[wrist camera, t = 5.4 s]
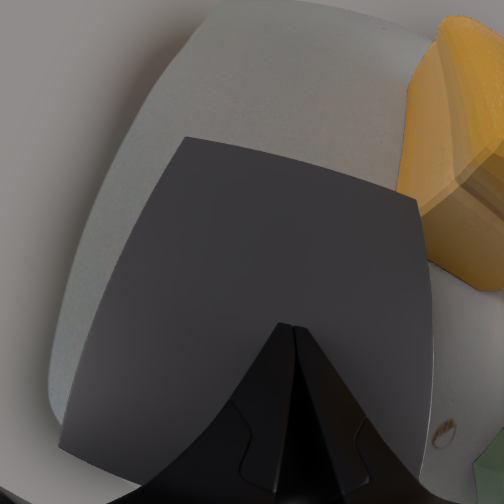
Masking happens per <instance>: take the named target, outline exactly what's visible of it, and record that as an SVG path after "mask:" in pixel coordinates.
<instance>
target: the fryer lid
mask: <svg viewBox="0 0 504 504" xmlns="http://www.w3.org/2000/svg"><path fill="white" fill-rule="evenodd" d="M279 322H282V323H287V324H291V325H292V326H294V325H296V326H301V327H306V328H307V329H308V330H309V331H310V333H311V334H312V336H313V337H314V339H315V340H316V341H317V343H318V344H319V346H320V347H321V349H322V350H323V352H324V353H325V355H326V356H327V358H328V359H329V361H330V362H331V363H332V365H333V366H334V368H335V369H336V371H337V372H338V374H339V375H340V377H341V378H342V380H343V381H344V383H345V384H346V385H347V387H348V388H349V390H350V391H351V393H352V394H353V396H354V397H355V399H356V400H357V402H358V403H359V405H360V406H361V408H362V409H363V410H364V412H365V413H366V415H367V416H366V417H368V418H369V419H370V421H371V422H372V424H373V425H374V426H375V428H376V429H377V431H378V432H379V433H380V435H381V436H382V438H383V439H384V440H385V442H386V443H387V444H388V445H389V447H390V448H391V449H392V450H393V452H394V453H395V454H396V455H397V457H398V458H399V459H400V460H401V461H402V462H403V463H404V465H405V466H406V467H407V468H408V469H409V470H410V472H411V473H412V474H413V475H414V476H415V477H416V478H417V480H418V481H419V478H420V474H421V469H422V465H423V460H424V454H425V449H426V443H427V436H428V429H429V421H430V412H431V401H432V388H433V364H434V335H433V311H432V297H431V285H430V276H429V267H428V260H427V253H426V246H425V240H424V234H423V228H422V223H421V218H420V213H419V208H418V204H417V200H416V199H414V198H412V197H409V196H406V195H404V194H401V193H398V192H396V191H393V190H390V189H387V188H385V187H382V186H379V185H376V184H373V183H370V182H367V181H364V180H361V179H358V178H355V177H352V176H349V175H346V174H343V173H340V172H336V171H333V170H330V169H326V168H323V167H319V166H316V165H312V164H309V163H305V162H302V161H298V160H294V159H290V158H286V157H282V156H278V155H274V154H270V153H266V152H262V151H257V150H253V149H248V148H244V147H239V146H234V145H229V144H224V143H219V142H214V141H208V140H203V139H197V138H191V137H185V138H184V139H183V141H182V143H181V144H180V146H179V147H178V149H177V151H176V152H175V154H174V155H173V157H172V159H171V160H170V162H169V164H168V165H167V167H166V169H165V171H164V172H163V174H162V176H161V177H160V179H159V181H158V183H157V185H156V186H155V188H154V190H153V192H152V194H151V195H150V197H149V199H148V201H147V203H146V205H145V207H144V208H143V210H142V212H141V214H140V216H139V218H138V220H137V222H136V224H135V226H134V228H133V230H132V232H131V234H130V236H129V238H128V240H127V242H126V244H125V246H124V249H123V251H122V253H121V255H120V257H119V259H118V262H117V264H116V266H115V268H114V271H113V273H112V275H111V277H110V280H109V282H108V285H107V287H106V289H105V292H104V294H103V297H102V299H101V302H100V304H99V307H98V309H97V312H96V315H95V317H94V320H93V323H92V325H91V328H90V331H89V334H88V337H87V339H86V342H85V345H84V348H83V351H82V354H81V357H80V361H79V364H78V367H77V370H76V374H75V377H74V381H73V384H72V388H71V391H70V395H69V399H68V403H67V407H66V411H65V415H64V420H63V424H62V429H61V433H60V439H59V444H58V446H59V447H60V448H61V449H63V450H65V451H66V452H68V453H70V454H72V455H74V456H76V457H78V458H79V459H81V460H84V461H86V462H87V463H89V464H91V465H94V466H96V467H98V468H100V469H102V470H104V471H107V472H109V473H111V474H113V475H116V476H118V477H121V478H123V479H126V480H128V481H131V482H134V483H136V484H139V485H144V484H145V483H147V482H148V481H150V480H151V479H152V478H154V477H155V476H156V475H157V474H159V473H160V472H161V471H162V470H163V469H164V468H165V467H167V466H168V465H169V464H170V463H171V462H172V461H173V460H174V459H175V458H176V457H178V456H179V455H180V454H181V453H182V452H183V451H184V450H185V449H186V448H187V447H188V446H189V445H190V444H191V443H192V442H193V441H194V440H196V438H197V437H198V436H199V435H200V434H201V433H202V432H203V431H204V430H205V429H206V428H207V427H208V426H209V425H210V423H211V422H212V421H213V419H214V418H215V417H216V416H217V414H218V413H219V412H220V410H221V409H222V407H223V406H224V405H225V403H226V402H227V400H229V398H230V396H231V395H232V393H233V392H234V390H235V389H236V387H237V386H238V384H239V383H240V381H241V380H242V378H243V377H244V375H245V374H246V372H247V371H248V369H249V368H250V366H251V365H252V363H253V361H254V360H255V358H256V357H257V355H258V354H259V352H260V351H261V349H262V347H263V346H264V344H265V343H266V341H267V339H268V338H269V336H270V335H271V333H272V331H273V330H274V328H275V327H276V325H277V323H279Z"/></svg>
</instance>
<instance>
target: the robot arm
mask: <svg viewBox="0 0 504 504" xmlns="http://www.w3.org/2000/svg"><path fill="white" fill-rule="evenodd" d="M366 416H367V415H366V413H365V412H364V410H363V409H362V408H361V406H360V405H359V403H358V402H357V400H356V399H355V397H354V396H353V394H352V393H351V391H350V390H349V388H348V387H347V385H346V384H345V383H344V381H343V380H342V378H341V377H340V375H339V374H338V372H337V371H336V369H335V368H334V366H333V365H332V363H331V362H330V361H329V359H328V358H327V356H326V355H325V353H324V352H323V350H322V349H321V347H320V346H319V344H318V343H317V341H316V340H315V339H314V337H313V336H312V334H311V333H310V331H309V330H308V329H307V328H306V327H301V326H296V325H294V326H292V325H291V324H287V323H282V322H279V323H277V325H276V327H275V328H274V330H273V331H272V333H271V335H270V336H269V338H268V339H267V341H266V343H265V344H264V346H263V347H262V349H261V351H260V352H259V354H258V355H257V357H256V358H255V360H254V361H253V363H252V365H251V366H250V368H249V369H248V371H247V372H246V374H245V375H244V377H243V378H242V380H241V381H240V383H239V384H238V386H237V387H236V389H235V390H234V392H233V393H232V395H231V396H230V398H229V400H227V402H226V403H225V405H224V406H223V407H222V409H221V410H220V412H219V413H218V414H217V416H216V417H215V418H214V419H213V421H212V422H211V423H210V425H209V426H208V427H207V428H206V429H205V430H204V431H203V432H202V433H201V434H200V435H199V436H198V437H197V438H196V440H194V441H193V442H192V443H191V444H190V445H189V446H188V447H187V448H186V449H185V450H184V451H183V452H182V453H181V454H180V455H179V456H178V457H176V458H175V459H174V460H173V461H172V462H171V463H170V464H169V465H168V466H167V467H165V468H164V469H163V470H162V471H161V472H160V473H159V474H157V475H156V476H155V477H154V478H152V479H151V480H150V481H148V482H147V483H145V484H144V485H142V486H141V487H139V488H138V489H136V490H134V491H132V492H130V493H128V494H126V495H124V496H122V497H120V498H118V499H116V500H114V501H112V502H110V503H107V504H459V503H455V502H452V501H448V500H445V499H442V498H439V497H437V496H435V495H434V494H432V493H431V492H429V491H428V490H427V489H426V488H425V487H424V486H423V485H422V484H421V483H420V482H419V481H418V480H417V478H416V477H415V476H414V475H413V474H412V473H411V472H410V470H409V469H408V468H407V467H406V466H405V465H404V463H403V462H402V461H401V460H400V459H399V458H398V457H397V455H396V454H395V453H394V452H393V450H392V449H391V448H390V447H389V445H388V444H387V443H386V442H385V440H384V439H383V438H382V436H381V435H380V433H379V432H378V431H377V429H376V428H375V426H374V425H373V424H372V422H371V421H370V419H369V418H368V417H366ZM0 504H31V503H30V502H27V501H26V500H24V499H22V498H20V497H18V496H16V495H15V494H13V493H11V492H10V491H8V490H6V489H4V488H3V487H0Z"/></svg>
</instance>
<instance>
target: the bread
mask: <svg viewBox="0 0 504 504" xmlns="http://www.w3.org/2000/svg"><path fill="white" fill-rule="evenodd" d="M396 192H398V193H401V194H404V195H406V196H409V197H412V198H414V199H416V200H417V204H418V208H419V213H420V218H421V223H422V228H423V234H424V240H425V246H426V253H427V259H428V260H430V261H431V262H433V263H435V264H437V265H438V266H440V267H442V268H443V269H445V270H447V271H448V272H450V273H452V274H453V275H455V276H457V277H458V278H460V279H461V280H463V281H465V282H466V283H468V284H469V285H471V286H473V287H474V288H476V289H478V290H497V289H501V288H504V37H502V36H501V35H499V34H498V33H497V32H496V31H494V30H492V29H491V28H489V27H487V26H486V25H484V24H482V23H480V22H479V21H477V20H475V19H472V18H470V17H467V16H462V15H451V16H448V17H446V18H444V19H443V20H442V22H441V23H440V25H439V28H438V31H437V36H436V40H435V41H433V42H432V44H431V45H430V47H429V48H428V49H427V51H426V53H425V54H424V56H423V57H422V59H421V61H420V62H419V64H418V66H417V68H416V70H415V71H414V74H413V76H412V79H411V81H410V84H409V87H408V93H407V106H406V118H405V129H404V138H403V146H402V154H401V161H400V167H399V174H398V180H397V186H396Z"/></svg>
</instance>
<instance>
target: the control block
mask: <svg viewBox="0 0 504 504" xmlns="http://www.w3.org/2000/svg"><path fill="white" fill-rule="evenodd" d="M473 469H474V475H475V482H476V489H477V498H478V504H504V428H503V429H502V430H501V432H500V433H499V434H498V435H497V437H496V438H495V439H494V440H493V442H492V443H491V444H490V445H489V446H488V448H487V449H486V450H485V451H484V452H483V453H482V455H481V456H480V457H479V458H478V459H477V460H476V461H475V462H474V463H473Z"/></svg>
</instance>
